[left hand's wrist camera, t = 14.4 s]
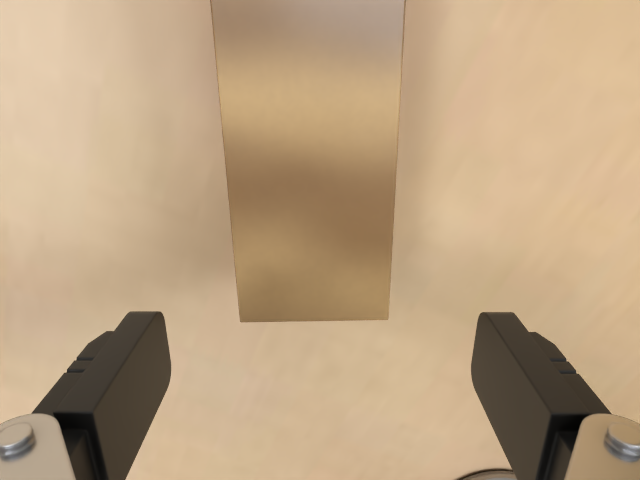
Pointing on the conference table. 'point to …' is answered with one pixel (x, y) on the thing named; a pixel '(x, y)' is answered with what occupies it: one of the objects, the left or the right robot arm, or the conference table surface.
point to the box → (310, 153)
